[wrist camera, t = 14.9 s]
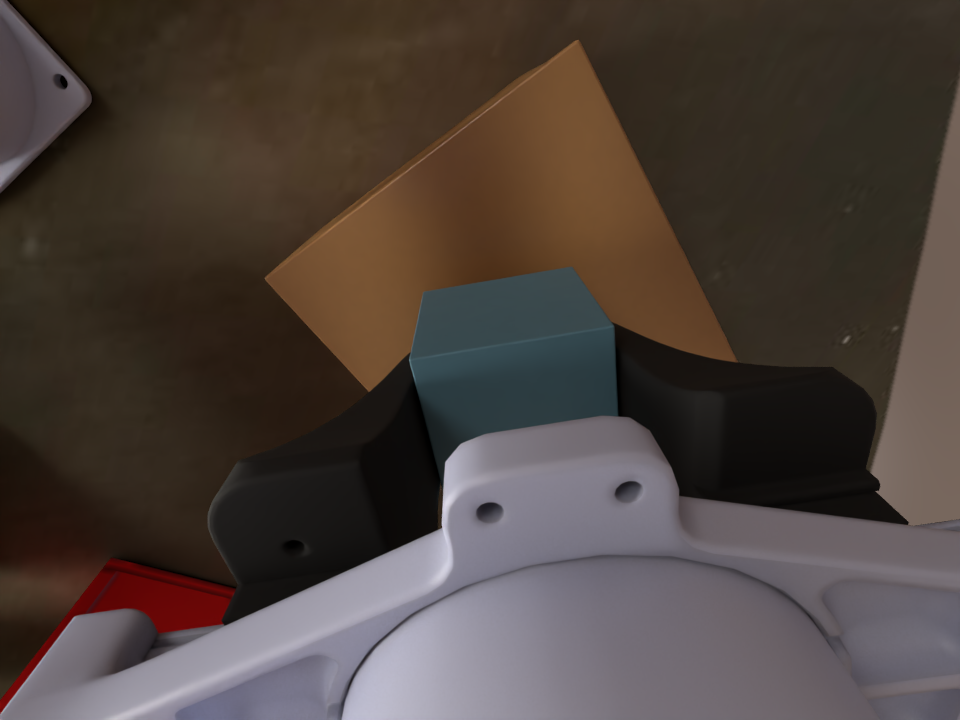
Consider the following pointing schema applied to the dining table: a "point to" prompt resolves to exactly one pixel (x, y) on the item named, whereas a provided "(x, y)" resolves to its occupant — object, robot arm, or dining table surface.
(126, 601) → the french fries container
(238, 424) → the dining table surface
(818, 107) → the dining table surface
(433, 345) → the block
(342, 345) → the box lid
